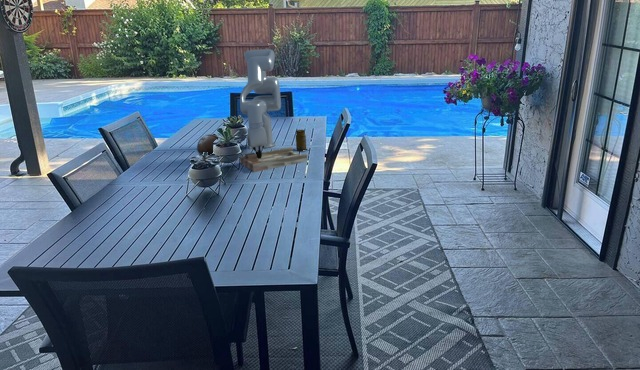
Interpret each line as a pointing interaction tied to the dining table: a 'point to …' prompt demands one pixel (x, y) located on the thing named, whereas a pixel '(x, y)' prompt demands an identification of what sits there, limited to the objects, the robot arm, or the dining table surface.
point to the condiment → (300, 140)
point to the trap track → (274, 159)
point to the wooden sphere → (206, 144)
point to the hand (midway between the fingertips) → (259, 157)
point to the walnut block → (251, 157)
